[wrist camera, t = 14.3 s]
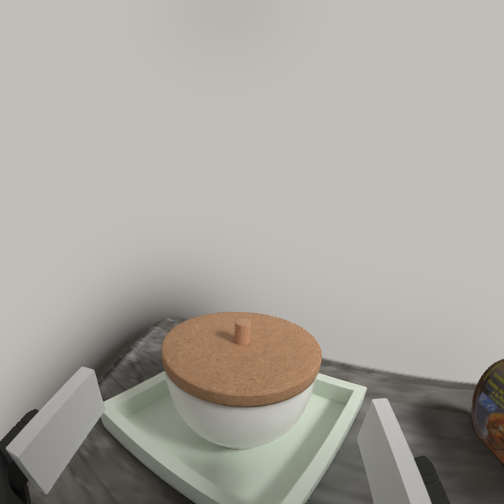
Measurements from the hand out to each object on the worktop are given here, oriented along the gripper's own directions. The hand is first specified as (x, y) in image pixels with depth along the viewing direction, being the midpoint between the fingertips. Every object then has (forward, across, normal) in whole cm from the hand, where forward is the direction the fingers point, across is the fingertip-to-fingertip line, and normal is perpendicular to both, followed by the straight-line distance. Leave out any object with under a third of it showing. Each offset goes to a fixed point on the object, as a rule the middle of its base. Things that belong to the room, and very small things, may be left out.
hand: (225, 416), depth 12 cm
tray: (+7, 0, -9) cm, 12 cm away
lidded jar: (+7, 0, -8) cm, 11 cm away
